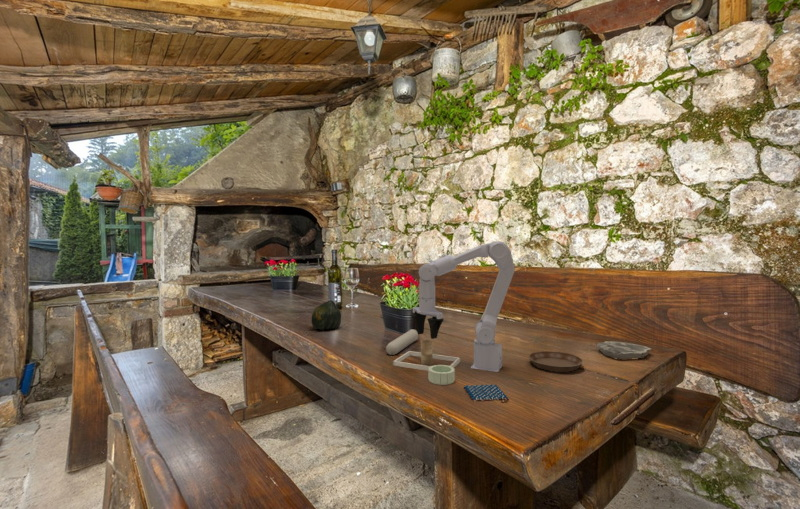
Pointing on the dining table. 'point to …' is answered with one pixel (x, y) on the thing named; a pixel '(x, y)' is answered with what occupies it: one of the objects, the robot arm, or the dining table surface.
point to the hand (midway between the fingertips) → (427, 336)
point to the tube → (402, 342)
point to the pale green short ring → (441, 374)
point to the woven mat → (485, 393)
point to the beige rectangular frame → (423, 367)
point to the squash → (326, 316)
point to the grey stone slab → (623, 350)
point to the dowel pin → (426, 352)
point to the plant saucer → (555, 361)
